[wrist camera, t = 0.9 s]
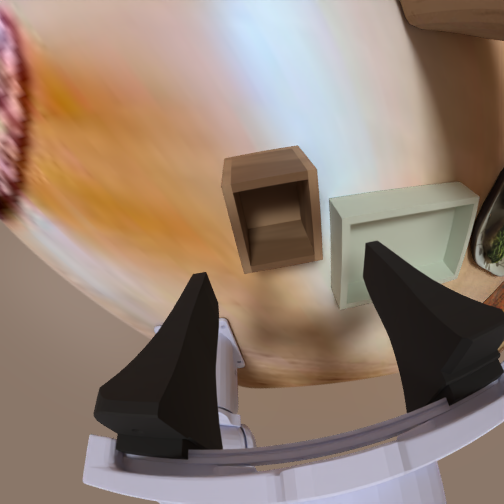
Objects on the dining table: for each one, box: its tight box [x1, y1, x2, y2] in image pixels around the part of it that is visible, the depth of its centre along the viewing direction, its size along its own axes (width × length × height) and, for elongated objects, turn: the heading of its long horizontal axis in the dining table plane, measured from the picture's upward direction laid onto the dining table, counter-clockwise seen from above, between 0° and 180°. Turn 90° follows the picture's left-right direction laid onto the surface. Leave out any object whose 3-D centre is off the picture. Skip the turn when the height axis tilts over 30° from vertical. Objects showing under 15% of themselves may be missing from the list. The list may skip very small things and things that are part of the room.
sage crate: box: [329, 182, 480, 310], centre depth 21 cm, size 9×13×3 cm
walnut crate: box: [221, 146, 323, 274], centre depth 18 cm, size 6×5×5 cm
